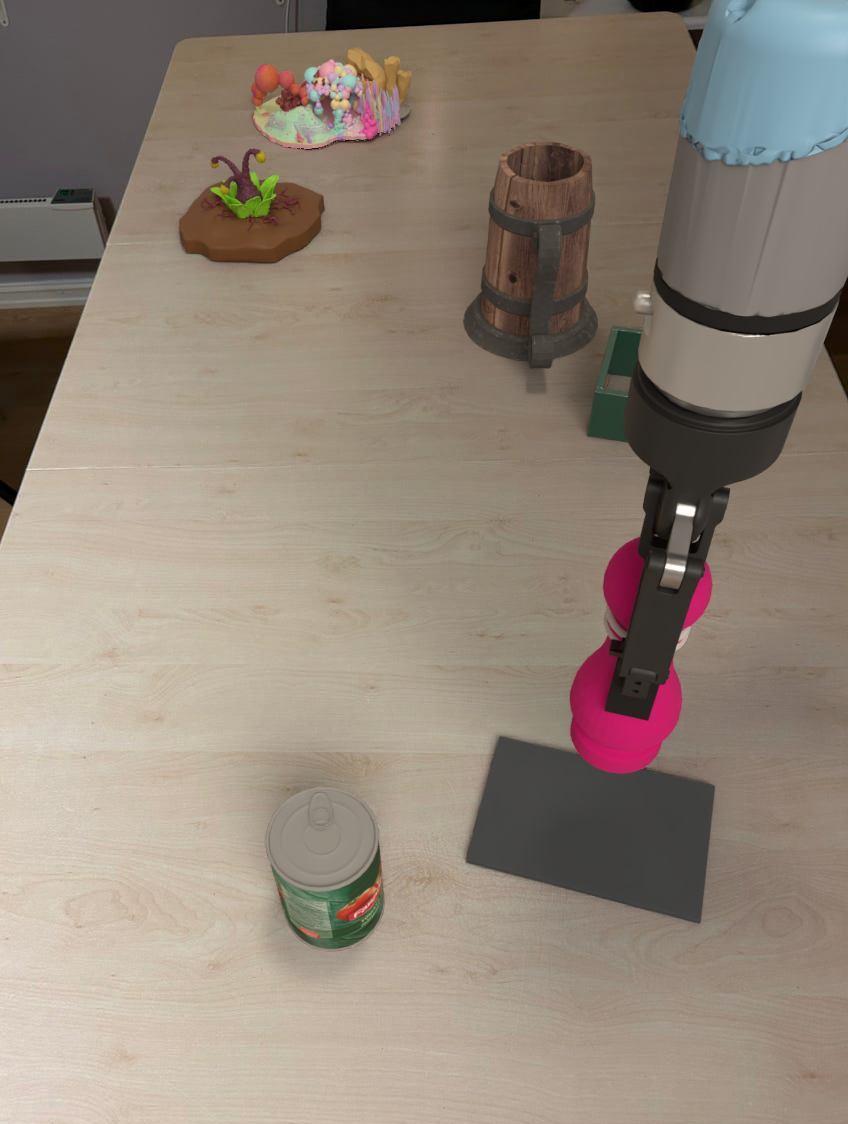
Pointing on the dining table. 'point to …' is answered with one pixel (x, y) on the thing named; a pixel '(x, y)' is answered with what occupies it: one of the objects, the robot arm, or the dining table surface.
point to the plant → (251, 216)
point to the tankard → (537, 257)
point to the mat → (595, 829)
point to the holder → (610, 402)
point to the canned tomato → (327, 867)
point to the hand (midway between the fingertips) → (633, 673)
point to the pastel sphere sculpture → (331, 101)
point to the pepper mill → (592, 729)
